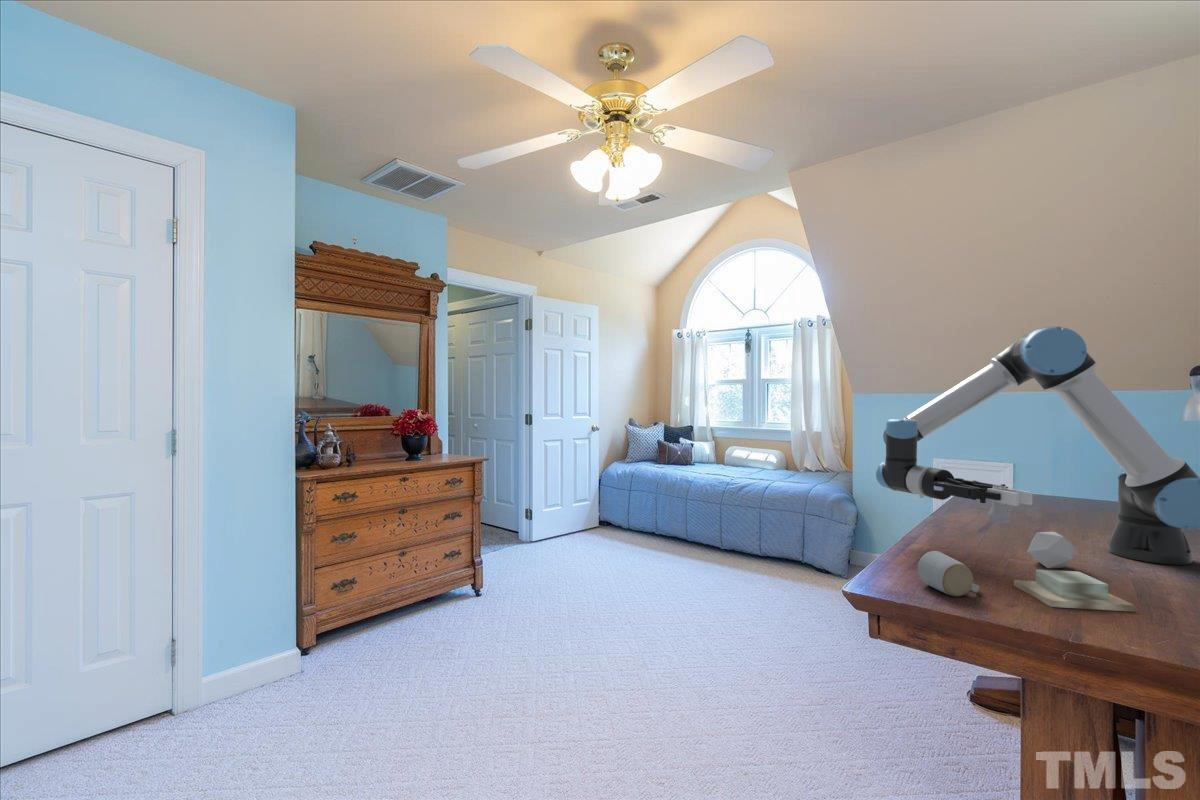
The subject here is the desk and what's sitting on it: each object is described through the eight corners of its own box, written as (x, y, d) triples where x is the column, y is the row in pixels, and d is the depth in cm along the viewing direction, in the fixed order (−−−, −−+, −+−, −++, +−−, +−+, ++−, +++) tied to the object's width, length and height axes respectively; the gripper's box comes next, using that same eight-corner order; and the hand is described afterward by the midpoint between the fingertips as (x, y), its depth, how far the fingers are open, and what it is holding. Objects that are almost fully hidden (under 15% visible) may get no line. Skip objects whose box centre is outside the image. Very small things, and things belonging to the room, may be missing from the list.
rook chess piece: (989, 522, 125) (990, 486, 125) (984, 518, 129) (985, 483, 129) (1014, 524, 124) (1014, 488, 124) (1007, 520, 128) (1008, 485, 128)
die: (1081, 576, 128) (1086, 538, 131) (1047, 557, 128) (1054, 520, 131) (1047, 578, 135) (1053, 542, 139) (1016, 560, 135) (1023, 525, 139)
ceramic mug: (943, 599, 111) (945, 561, 111) (916, 585, 119) (917, 550, 118) (990, 598, 112) (991, 560, 112) (959, 584, 120) (960, 549, 120)
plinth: (1087, 589, 117) (1088, 569, 117) (1133, 611, 105) (1134, 589, 105) (1014, 585, 119) (1014, 565, 119) (1051, 606, 107) (1051, 584, 107)
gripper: (956, 495, 146) (1051, 514, 124) (905, 498, 141) (995, 518, 119) (956, 466, 146) (1052, 480, 123) (905, 468, 141) (995, 483, 119)
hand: (1024, 499), depth 121 cm, fingers closed on rook chess piece, 3 cm apart
